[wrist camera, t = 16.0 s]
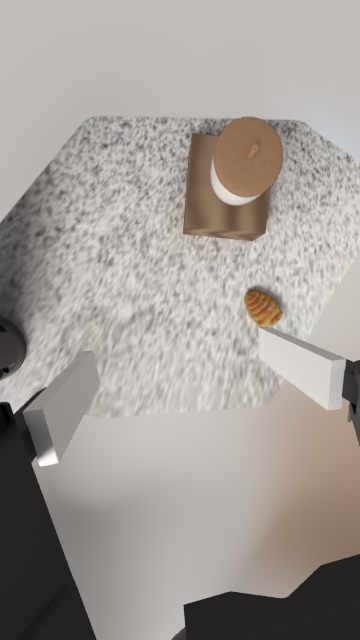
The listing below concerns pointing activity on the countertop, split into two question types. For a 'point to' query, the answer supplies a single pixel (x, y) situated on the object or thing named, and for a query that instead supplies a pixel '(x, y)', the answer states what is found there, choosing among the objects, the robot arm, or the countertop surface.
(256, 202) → the walnut box
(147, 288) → the countertop surface
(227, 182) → the lidded jar
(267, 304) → the pastry
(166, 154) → the countertop surface
